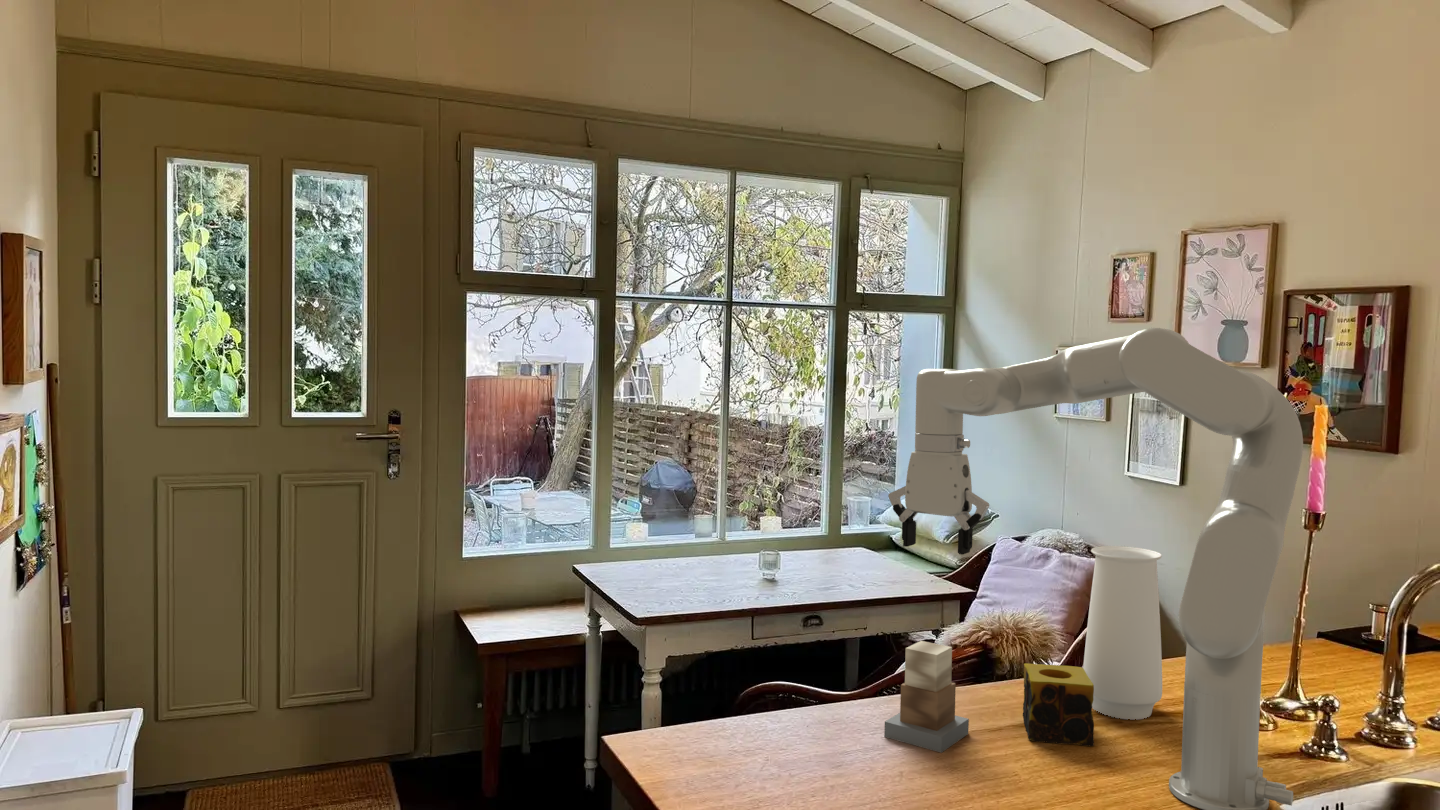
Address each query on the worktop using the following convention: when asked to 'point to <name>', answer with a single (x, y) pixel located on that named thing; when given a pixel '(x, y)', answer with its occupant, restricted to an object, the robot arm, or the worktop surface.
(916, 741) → the slate slab
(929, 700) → the walnut block
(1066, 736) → the yellow holed cube
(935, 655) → the maple block
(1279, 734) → the worktop surface
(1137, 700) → the vase
